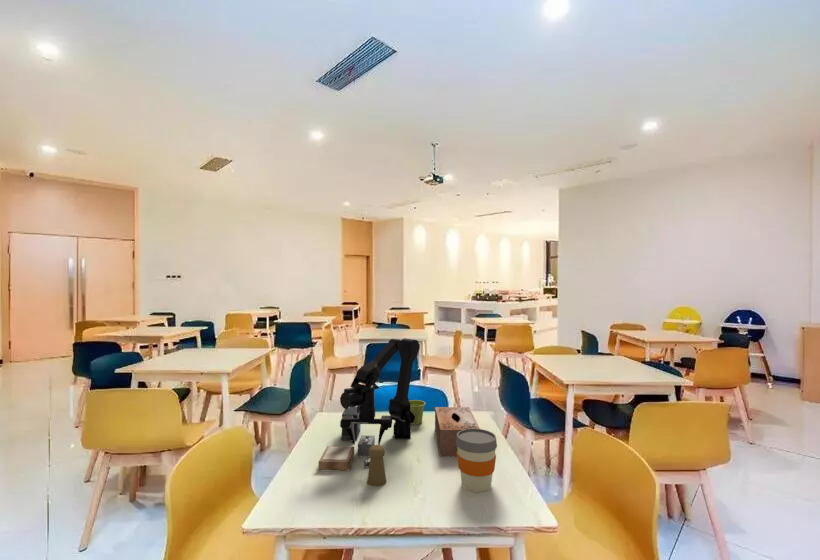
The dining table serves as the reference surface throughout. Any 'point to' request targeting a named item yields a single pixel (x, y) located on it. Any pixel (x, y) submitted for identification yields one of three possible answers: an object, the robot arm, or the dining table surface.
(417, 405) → the plant pot
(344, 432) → the small box
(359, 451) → the housing
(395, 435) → the robot arm
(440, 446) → the tissue box cover
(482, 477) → the reusable coffee cup
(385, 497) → the dining table surface
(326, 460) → the picture frame
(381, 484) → the cork
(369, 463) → the loose bolt
